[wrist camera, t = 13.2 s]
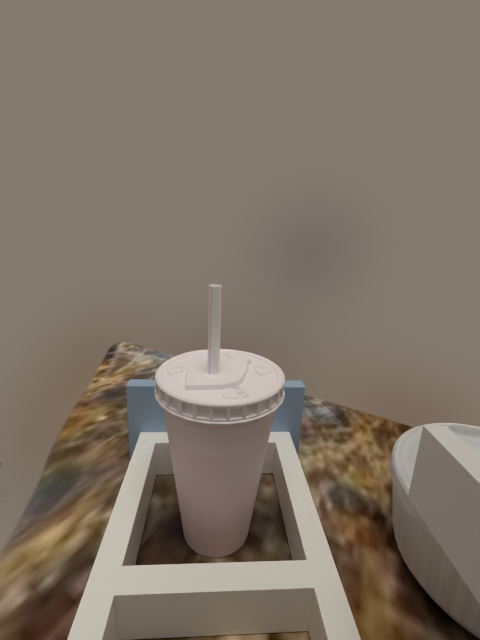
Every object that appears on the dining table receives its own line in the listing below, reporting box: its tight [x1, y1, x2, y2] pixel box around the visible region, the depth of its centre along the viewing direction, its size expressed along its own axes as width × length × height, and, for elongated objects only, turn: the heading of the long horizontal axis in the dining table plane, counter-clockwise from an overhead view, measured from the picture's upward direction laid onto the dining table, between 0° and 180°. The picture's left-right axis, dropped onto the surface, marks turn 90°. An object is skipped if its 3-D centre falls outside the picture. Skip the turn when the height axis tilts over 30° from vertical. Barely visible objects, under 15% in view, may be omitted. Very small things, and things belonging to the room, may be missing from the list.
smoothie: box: [155, 284, 285, 558], centre depth 18 cm, size 6×6×14 cm
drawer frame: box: [67, 379, 361, 640], centre depth 15 cm, size 12×20×6 cm, turn 4°
